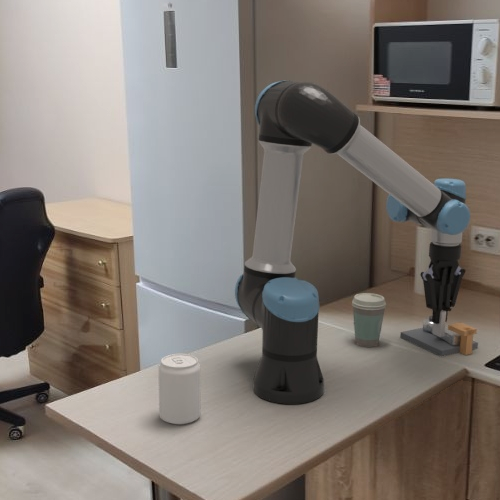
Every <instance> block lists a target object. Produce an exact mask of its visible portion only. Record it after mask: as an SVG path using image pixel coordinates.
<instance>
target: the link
mask: <svg viewBox="0 0 500 500" xmlns="http://www.w3.org/2000/svg"><path fill="white" fill-rule="evenodd" d="M422 321H423V322H422V328H423V330H424V331H426V332H431V333H433V322H432V315H430V316H429V317H426V318H423V319H422ZM438 337H439V336H438ZM440 338H441V339H443V340H445V341H447V342H448V343H450V344H452V345H459V344H460V343H461V335H460V334H458V333H455V332H453V331H450V330H448V325H446V324H445V332H444V336H443V337H440Z"/></svg>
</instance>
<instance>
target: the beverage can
mask: <svg viewBox="0 0 500 500" xmlns="http://www.w3.org/2000/svg"><path fill="white" fill-rule="evenodd" d="M201 386H202V385H201V365H200V362H199V358H198V357H196V356H195V355H192V354H188V353H173V354H169V355H165V356H164V357H162V358H161V360H160V363H159V365H158V402H159V403H158V406H159V407H158V409H159V413H158V414H159V417H160V419H161V420H162V421H164V422H166V423H170V424H172V425H186V424H190V423H192V422H195V421H196V420H198V419H199V418H200V416H201V408H202V407H201Z"/></svg>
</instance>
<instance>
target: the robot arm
mask: <svg viewBox="0 0 500 500" xmlns="http://www.w3.org/2000/svg"><path fill="white" fill-rule="evenodd" d="M254 114H255V115H254V116H255V118H256V119H255V120H256V121H257V124H258V125H259V132H258V141H257V142H258V143H259V145H260V146H261V147H262V148H263V152H264V153H263V161H262V169H261V178H260V186H259V196H258V202H257V203H258V205H257V211H256V213H257V214H256V222H255V229H254V230H255V231H254V238H253V247H252V256H251V257H249V258H248V259H247V260H246V261H244V267H243V273H242V274H241V275H239V277H238V279H237V281H236V282H235V287H234V299H235V301H236V304H237V306H238V307H239V309H240V310H241V312H242V313H243V314H244V316H246V317H247V318H248V319H249V320H251V321H253V323H255V324H256V325H257V326H258V327H259V328H261V330H262V334H261V335H262V337H261V339H262V341H261V343H262V344H261V345H262V348H261V349H262V351H261V357H260V360H259V363H258V366H257V368H256V371H255V374H254V377H253V388H252V389H253V392H254V394H255V395H256V396H258V397H259V398H261V399H263V400H266V401H268V402H271V403H276V404H282V405H296V404H297V405H298V404H299V405H300V404H306V403H310V402H313V401H316V400H318V399H320V398H321V397H322V396H323V394H324V392H325V391H324V390H325V380H324V377H323V373H322V370H321V366H320V363H319V360H318V333H319V312H320V301H319V299H320V298H319V292H318V290H317V288H316V286H314V285H313V284H312V283H310V282H308V281H307V280H304V279H302V280H301V279H299V278H297V277H296V271H297V267H295V266H294V264H293V263H292V261H291V256H292V249H293V241H294V240H293V239H294V233H295V223H296V219H297V218H296V216H297V209H298V200H299V193H300V192H299V191H300V185H301V176H302V170H303V161H304V154H306V152H308V151H309V150H311V148H312V145H314V146H317V147H319V148H320V149H321V150H323V151H324V152H326V154H328V155H330V156H331V155H332V156H333V155H335V154H336V155H338V156H339V157H340V158H341V159H343V160H344V161H346V162H347V163H348V164H350V165H351V166H352V167H353V168H355V170H357V171H358V172H360V173H361V174H363V175H364V176H365V177H366V178H368V179H369V180H370V181H371V182H373V183H374V184H375V185H377V186H378V187H379V188H380V189H382V190H383V191H385V192H386V193H388V195H387V199H386V206H385V207H386V213H387V215H388V217H389V218H390V220H392V221H393V222H402V223H405V222H412V223H415V224H418V225H420V226H423V227H425V228H426V227H427V228H428V229H430V234H429V235H430V238H429V240H430V241H431V242H430V243H429V245H428V246H429V247H428V248H429V249H428V257H429V259H430V262H429V264H428V269H427V270H426V271H421V272H420V278H421V279H422V282H423V290H424V297H425V300H424V301H425V305H426V308H428V309H430V310H431V311H432V315H431V316H432V322H433V334H434V335H436V336H439V337H443V336H444V332H445V325H446V323H447V321H448V312H451V311H452V308H454V307H455V306H456V303H457V298H458V295H459V291H460V288H461V282H462V280H463V277H464V276H465V274H466V269H465V268H462V267H461V266H460V265H459V260H460V259H461V255H462V245H461V243H463V234H464V233H463V232H464V231H465V230H466V229H467V228H468V226H469V225H470V221H471V212H470V209H469V207H468V206H467V205H466V200H467V197H466V196H467V195H466V194H467V192H466V191H467V188H466V187H467V185H466V183H465V181H463V180H461V179H458V178H457V179H456V178H437V179H435V180H434V181H433V182H434V183H433V182H431V181H430V180H429V179H427V178H426V177H425V176H424V175H423V174H421V173H420V172H419V171H418V170H417V169H415V168H414V167H413V166H412V165H410V164H409V163H408V162H407V161H406V160H404V158H402V157H401V156H400V155H398V153H395V151H393V150H392V149H391V148H390V147H388V146H387V145H386V144H385V143H384V142H382V141H381V140H380V139H379V138H378V137H376V136H375V135H374V134H372V133H371V131H369V130H368V129H366V128H365V127H364V126H362V125H361V120H360V119H361V118H360V117H359V116H358V115H357V114H356V113H355V112H354V111H352V110H351V109H350V108H349V107H348V106H347V105H345V104H344V103H343V102H342V101H340V99H339V98H337V97H336V96H335V95H334V94H332V93H331V92H330V91H329V90H328V89H325V88H324V87H322V86H320V84H317V83H314V82H309V81H308V82H307V81H293V80H281V81H275V82H273V83H271V84H269V85H267V86H266V87H265V88H264V89H262V91H260V93H259V95H258V97H257V98H256V101H255V105H254Z"/></svg>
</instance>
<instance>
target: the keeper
mask: <svg viewBox="0 0 500 500" xmlns="http://www.w3.org/2000/svg"><path fill="white" fill-rule="evenodd" d="M447 326H448V330H450V331H453V332H455V333H458V334H460V335H461V343H460V352H459V353H460V354H462V355H464V356H467V355H472V354H473V349H472V344H473V341H474V335H476V334H477V331H478V330H477V328H476V327H474V326H471V325H468V324H465V323H464V322H455V323H451V324H448V325H447Z"/></svg>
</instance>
